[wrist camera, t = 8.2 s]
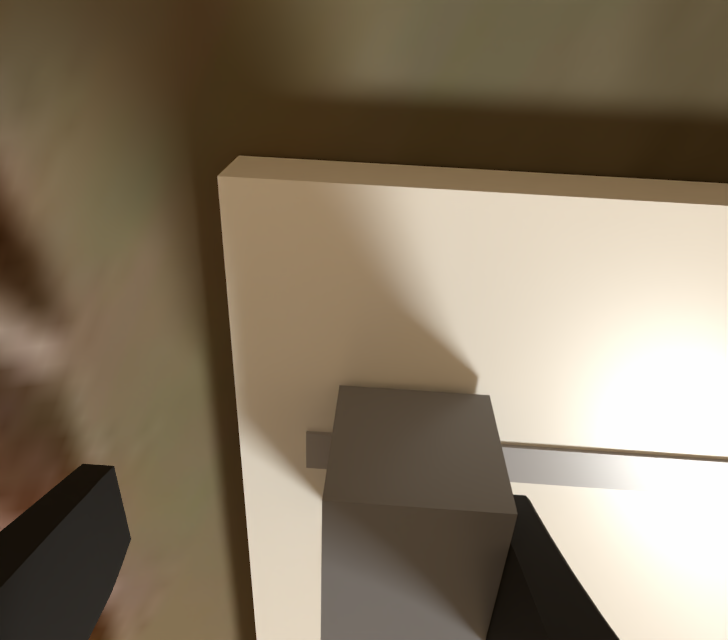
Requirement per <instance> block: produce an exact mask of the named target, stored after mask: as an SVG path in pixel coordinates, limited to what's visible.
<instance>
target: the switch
mask: <svg viewBox="0 0 728 640" xmlns="http://www.w3.org/2000/svg"><path fill="white" fill-rule="evenodd" d="M517 515H518V514H517V509H516V505H515V501H514V497H513V492H512V488H511V484H510V480H509V475H508V471H507V467H506V463H505V459H504V454H503V450H502V446H501V442H500V437H499V433H498V429H497V425H496V420H495V416H494V412H493V408H492V403H491V399H490V395H479V394H464V393H449V392H434V391H419V390H404V389H389V388H374V387H359V386H344V385H339V391H338V398H337V405H336V411H335V418H334V425H333V431H332V438H331V444H330V451H329V458H328V464H327V471H326V477H325V484H324V491H323V497H322V553H321V640H486V636H487V632H488V628H489V625H490V621H491V617H492V613H493V609H494V605H495V601H496V597H497V593H498V589H499V585H500V582H501V578H502V574H503V570H504V566H505V562H506V558H507V554H508V550H509V546H510V542H511V538H512V535H513V531H514V527H515V523H516V519H517Z"/></svg>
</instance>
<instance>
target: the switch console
mask: <svg viewBox="0 0 728 640" xmlns="http://www.w3.org/2000/svg"><path fill="white" fill-rule="evenodd" d="M217 179H218V191H219V203H220V215H221V226H222V238H223V250H224V262H225V274H226V285H227V297H228V309H229V321H230V332H231V344H232V356H233V368H234V379H235V391H236V403H237V415H238V426H239V438H240V450H241V462H242V473H243V485H244V497H245V509H246V520H247V532H248V544H249V556H250V568H251V579H252V591H253V603H254V615H255V626H256V638H257V640H321V553H322V497H323V491H324V484H325V477H326V471H327V464H328V458H329V451H330V444H331V438H332V431H333V425H334V418H335V411H336V405H337V398H338V391H339V385H344V386H359V387H374V388H389V389H404V390H419V391H434V392H449V393H464V394H479V395H490V399H491V403H492V408H493V412H494V416H495V420H496V425H497V429H498V433H499V437H500V442H501V446H502V450H503V454H504V459H505V463H506V467H507V471H508V475H509V480H510V484H511V488H512V492H513V495H526V496H527V498H528V499H529V500H530V501H531V503H532V505H533V506H534V508H535V510H536V512H537V513H538V515H539V517H540V519H541V520H542V522H543V524H544V526H545V527H546V529H547V531H548V532H549V534H550V536H551V537H552V539H553V541H554V542H555V544H556V545H557V547H558V549H559V550H560V552H561V554H562V555H563V557H564V558H565V560H566V562H567V563H568V565H569V566H570V568H571V569H572V571H573V572H574V574H575V576H576V577H577V579H578V580H579V582H580V583H581V585H582V586H583V588H584V589H585V590H586V592H587V593H588V595H589V596H590V598H591V599H592V601H593V602H594V604H595V605H596V607H597V608H598V610H599V611H600V613H601V614H602V615H603V617H604V618H605V620H606V621H607V623H608V624H609V625H610V627H611V628H612V630H613V631H614V632H615V634H616V635H617V636H618V638H619V639H620V640H728V183H710V182H693V181H676V180H658V179H641V178H623V177H606V176H588V175H571V174H553V173H536V172H518V171H501V170H483V169H466V168H449V167H431V166H414V165H396V164H379V163H361V162H344V161H326V160H309V159H291V158H274V157H256V156H238V157H237V158H236V159H235V160H234V161H232V162H231V163H230V164H229V165H228V166H227V167H226V168H225V169H224V170H223V171H222V172H221V173H220V174H219V175H218V176H217Z"/></svg>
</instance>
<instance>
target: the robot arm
mask: <svg viewBox="0 0 728 640" xmlns="http://www.w3.org/2000/svg"><path fill="white" fill-rule="evenodd" d="M513 497H514V501H515V505H516V509H517V514H518V515H517V519H516V523H515V527H514V531H513V535H512V538H511V542H510V546H509V550H508V554H507V558H506V562H505V566H504V570H503V574H502V578H501V582H500V585H499V589H498V593H497V597H496V601H495V605H494V609H493V613H492V617H491V621H490V625H489V628H488V632H487V636H486V640H620V639H619V638H618V636H617V635H616V634H615V632H614V631H613V630H612V628H611V627H610V625H609V624H608V623H607V621H606V620H605V618H604V617H603V615H602V614H601V613H600V611H599V610H598V608H597V607H596V605H595V604H594V602H593V601H592V599H591V598H590V596H589V595H588V593H587V592H586V590H585V589H584V588H583V586H582V585H581V583H580V582H579V580H578V579H577V577H576V576H575V574H574V572H573V571H572V569H571V568H570V566H569V565H568V563H567V562H566V560H565V558H564V557H563V555H562V554H561V552H560V550H559V549H558V547H557V545H556V544H555V542H554V541H553V539H552V537H551V536H550V534H549V532H548V531H547V529H546V527H545V526H544V524H543V522H542V520H541V519H540V517H539V515H538V513H537V512H536V510H535V508H534V506H533V505H532V503H531V501H530V500H529V499H528V498H527V496H526V495H513ZM130 540H131V537H130V533H129V528H128V524H127V520H126V515H125V511H124V507H123V503H122V498H121V494H120V490H119V486H118V481H117V477H116V473H115V468H114V466H105V465H91V464H82V465H81V466H79V467H78V468H77V469H76V470H74V471H73V472H72V473H71V474H70V475H68V476H67V477H66V478H65V479H64V480H62V481H61V482H60V483H59V484H57V485H56V486H55V487H54V488H53V489H51V490H50V491H49V492H48V493H47V494H45V495H44V496H43V497H42V498H41V499H39V500H38V501H37V502H36V503H35V504H33V505H32V506H31V507H30V508H29V509H27V510H26V511H25V512H24V513H22V514H21V515H20V516H19V517H18V518H16V519H15V520H14V521H13V522H12V523H10V524H9V525H8V526H7V527H5V528H4V529H3V530H2V531H0V640H88V639H89V637H90V635H91V633H92V631H93V629H94V627H95V625H96V623H97V621H98V619H99V617H100V615H101V613H102V611H103V609H104V607H105V605H106V603H107V601H108V599H109V597H110V594H111V592H112V590H113V587H114V585H115V582H116V579H117V577H118V574H119V571H120V569H121V566H122V563H123V560H124V558H125V555H126V552H127V549H128V546H129V543H130Z"/></svg>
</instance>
